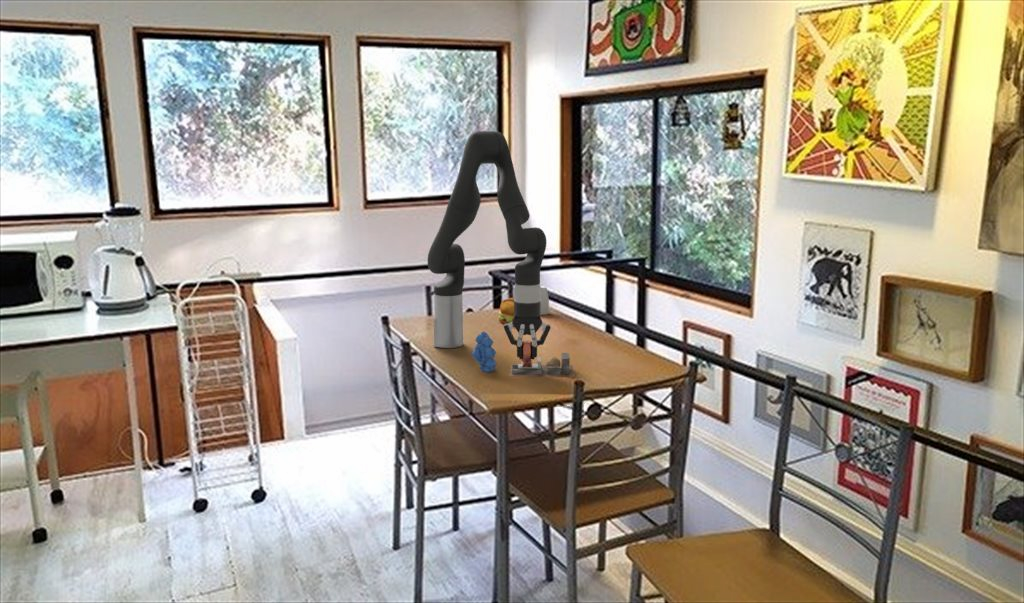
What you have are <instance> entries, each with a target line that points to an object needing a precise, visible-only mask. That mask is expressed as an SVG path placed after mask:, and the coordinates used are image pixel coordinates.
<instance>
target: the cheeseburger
mask: <svg viewBox="0 0 1024 603" xmlns="http://www.w3.org/2000/svg"><path fill="white" fill-rule="evenodd" d="M513 318H514V297H509V298H506V299H503V300H502V301H501V302H500V306H499V311H498V321H499V322H500V323H503V324H506V323H507V324H508V323H511V322H512V320H513Z"/></svg>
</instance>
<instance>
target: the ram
mask: <svg viewBox="0 0 1024 603" xmlns="http://www.w3.org/2000/svg"><path fill="white" fill-rule="evenodd" d="M521 345H522V359H521V363H517V364H518V370H541V364H542V357H536V358H537V359H536V360H537V363H533V359H532V345H533V342H532V340H522V343H521Z"/></svg>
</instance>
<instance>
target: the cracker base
mask: <svg viewBox="0 0 1024 603" xmlns="http://www.w3.org/2000/svg"><path fill="white" fill-rule="evenodd" d="M570 359H571V358H570V353H569V352H561V361H560V366H547V365H546V364H544V365H543V364H542V363H541V370H518V364H519V363H516V364H515V363H513V364H510V371H509V377H520V378H521V377H522V378H523V377H524V378H527V377H531V378H532V377H533V378H534V377H535V378H536V377H539V378H541V377H542V378H543V377H544V378H551V377H552V378H575V373H574V367H573V365H570Z"/></svg>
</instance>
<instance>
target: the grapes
mask: <svg viewBox="0 0 1024 603" xmlns="http://www.w3.org/2000/svg"><path fill="white" fill-rule="evenodd" d="M475 342H476V343H477V344H476V345H475V347H474V350H472V353H471V356H472V358H473V359H474V360H476V362H477V363H478V364H479V365H480V366H479V370H480V371H481V372H486V373H493V372H494V371H495V368H496V366H497V361H496V360H495V359H494V358H495V357H496V354H497V351H496V350H495V348H493V347H492V346H493V344H494V340H493V339H492V338H491V337H490V335H489V334H488V333H487V332H485V331H481V333H480V334H478V335H476V337H475Z"/></svg>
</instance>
